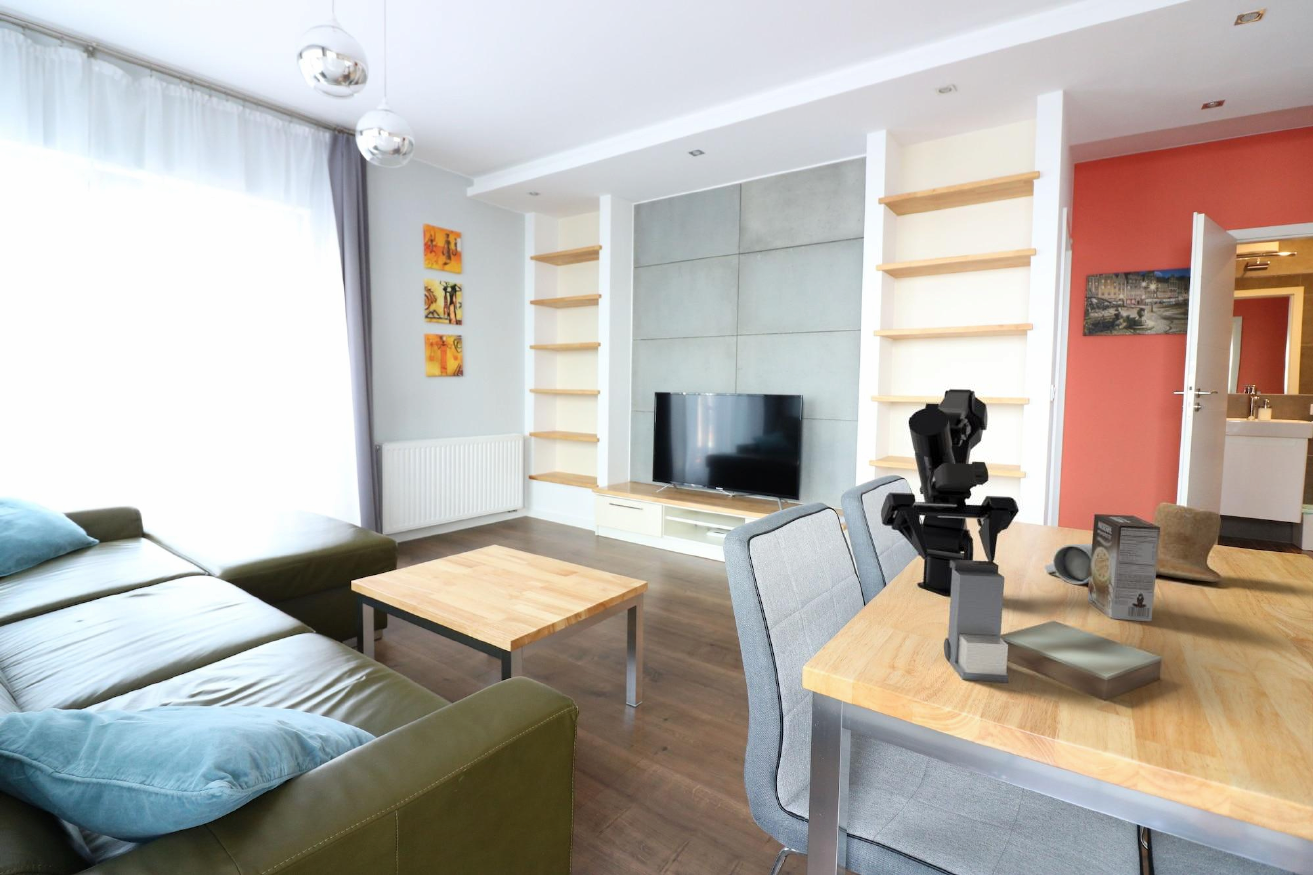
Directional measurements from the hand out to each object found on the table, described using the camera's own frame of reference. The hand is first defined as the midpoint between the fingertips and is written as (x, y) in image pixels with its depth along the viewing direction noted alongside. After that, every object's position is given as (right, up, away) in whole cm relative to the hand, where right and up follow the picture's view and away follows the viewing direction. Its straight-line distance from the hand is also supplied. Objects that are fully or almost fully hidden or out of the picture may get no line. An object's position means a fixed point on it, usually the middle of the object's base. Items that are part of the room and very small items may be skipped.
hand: (958, 559), depth 92 cm
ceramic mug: (+40, -11, +34) cm, 54 cm away
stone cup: (+62, -11, +38) cm, 74 cm away
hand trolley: (-1, -13, -6) cm, 15 cm away
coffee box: (+35, -12, +17) cm, 41 cm away
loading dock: (+13, -14, -6) cm, 20 cm away
